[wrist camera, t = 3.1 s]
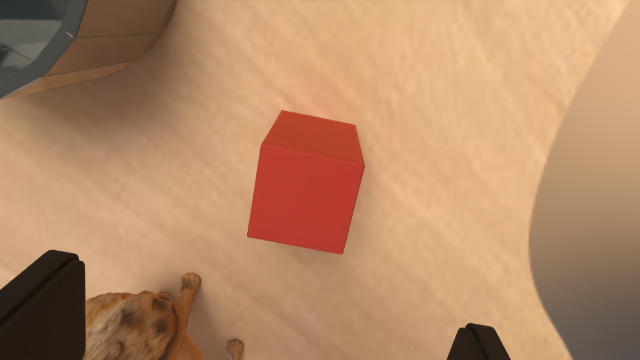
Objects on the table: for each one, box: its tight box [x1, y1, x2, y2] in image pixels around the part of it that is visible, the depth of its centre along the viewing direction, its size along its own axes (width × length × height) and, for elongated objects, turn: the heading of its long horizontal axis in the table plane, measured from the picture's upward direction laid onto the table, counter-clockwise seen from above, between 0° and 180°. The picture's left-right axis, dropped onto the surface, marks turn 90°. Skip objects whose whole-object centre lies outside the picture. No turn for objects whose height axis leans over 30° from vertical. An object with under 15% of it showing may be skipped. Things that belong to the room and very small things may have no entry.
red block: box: [247, 110, 365, 254], centre depth 22 cm, size 4×4×8 cm
